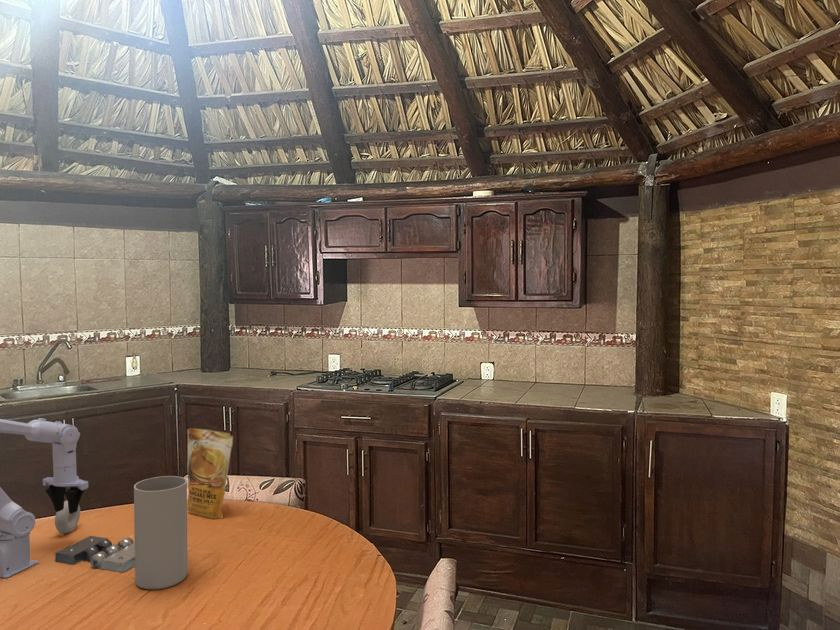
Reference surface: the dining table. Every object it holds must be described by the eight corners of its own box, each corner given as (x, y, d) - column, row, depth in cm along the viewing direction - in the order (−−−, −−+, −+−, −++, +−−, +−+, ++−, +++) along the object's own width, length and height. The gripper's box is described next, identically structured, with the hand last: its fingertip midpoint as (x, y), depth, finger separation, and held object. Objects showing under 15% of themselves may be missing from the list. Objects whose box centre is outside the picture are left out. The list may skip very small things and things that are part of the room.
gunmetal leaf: (86, 566, 162) (85, 553, 162) (55, 561, 165) (55, 548, 165) (119, 548, 174) (119, 536, 173) (90, 544, 176) (90, 532, 176)
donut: (63, 539, 180) (63, 506, 180) (52, 538, 180) (51, 506, 180) (83, 526, 190) (82, 494, 189) (72, 526, 190) (71, 494, 190)
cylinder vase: (137, 572, 159) (136, 478, 158) (187, 565, 163) (187, 474, 163) (132, 594, 147) (131, 493, 146) (187, 586, 152) (186, 488, 151)
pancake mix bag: (195, 505, 209) (194, 425, 208) (235, 515, 200) (235, 431, 199) (179, 511, 203) (178, 429, 202) (220, 522, 194) (219, 436, 193)
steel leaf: (122, 573, 158) (122, 559, 158) (89, 567, 161) (88, 554, 161) (156, 553, 171) (155, 540, 170) (124, 548, 174) (124, 536, 173)
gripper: (96, 463, 175) (97, 508, 176) (56, 459, 179) (58, 504, 180) (76, 470, 168) (78, 518, 169) (35, 466, 172) (37, 512, 173)
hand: (66, 511), depth 174 cm, fingers open, 4 cm apart
